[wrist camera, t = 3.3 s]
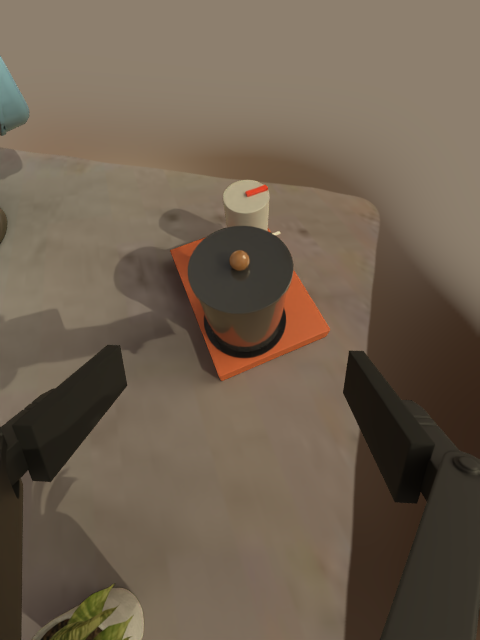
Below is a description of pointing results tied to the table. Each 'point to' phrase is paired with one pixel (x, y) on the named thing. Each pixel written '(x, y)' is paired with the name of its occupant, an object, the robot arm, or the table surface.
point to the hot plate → (299, 329)
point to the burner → (251, 353)
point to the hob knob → (246, 204)
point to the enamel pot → (241, 285)
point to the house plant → (99, 619)
